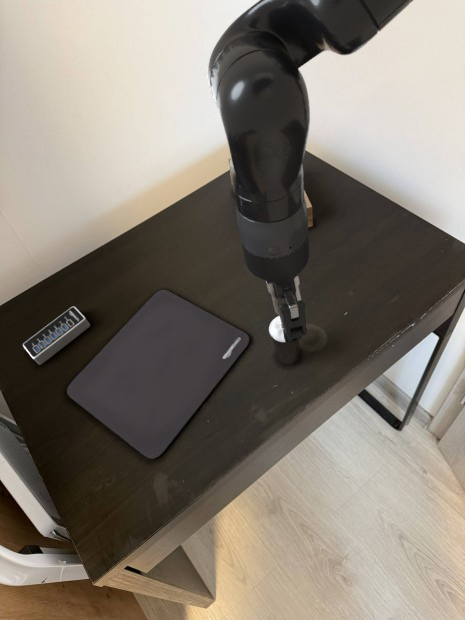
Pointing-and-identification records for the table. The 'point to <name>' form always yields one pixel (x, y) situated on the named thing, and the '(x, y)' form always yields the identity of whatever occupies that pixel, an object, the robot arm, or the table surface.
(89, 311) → the table surface
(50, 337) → the multiport hub
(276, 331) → the milkshake
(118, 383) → the mouse pad
